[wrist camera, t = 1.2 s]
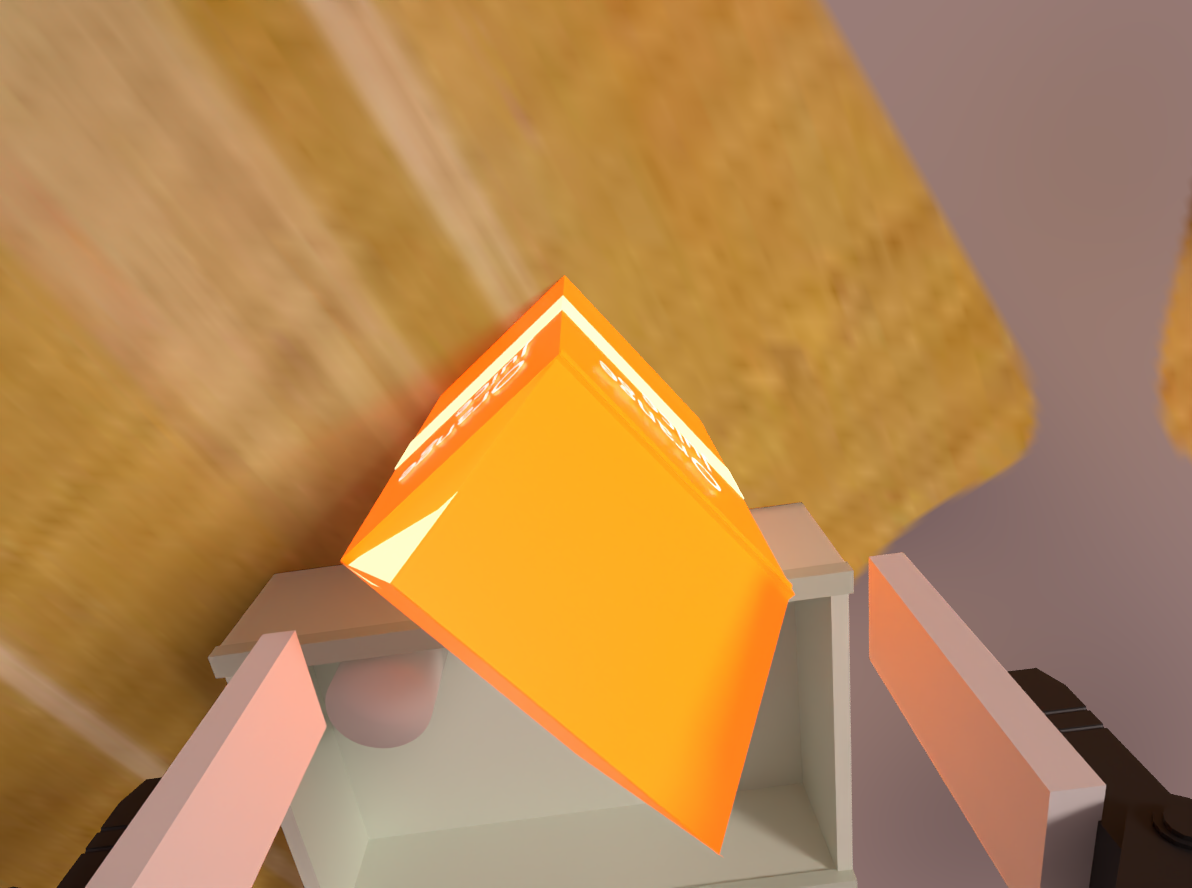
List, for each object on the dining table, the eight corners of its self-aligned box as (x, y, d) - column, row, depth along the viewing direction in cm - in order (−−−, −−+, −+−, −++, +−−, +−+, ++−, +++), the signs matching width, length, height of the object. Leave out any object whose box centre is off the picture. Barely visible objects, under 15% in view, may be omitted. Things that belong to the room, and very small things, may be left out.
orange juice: (565, 271, 30) (557, 424, 11) (703, 418, 32) (890, 751, 13) (436, 397, 31) (235, 718, 13) (576, 528, 34) (583, 963, 15)
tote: (362, 843, 40) (325, 963, 34) (273, 571, 34) (207, 657, 28) (812, 784, 40) (857, 895, 33) (801, 499, 34) (853, 570, 27)
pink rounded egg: (371, 678, 35) (340, 754, 31) (348, 602, 34) (312, 669, 29) (459, 667, 35) (442, 741, 31) (440, 590, 34) (419, 655, 29)
